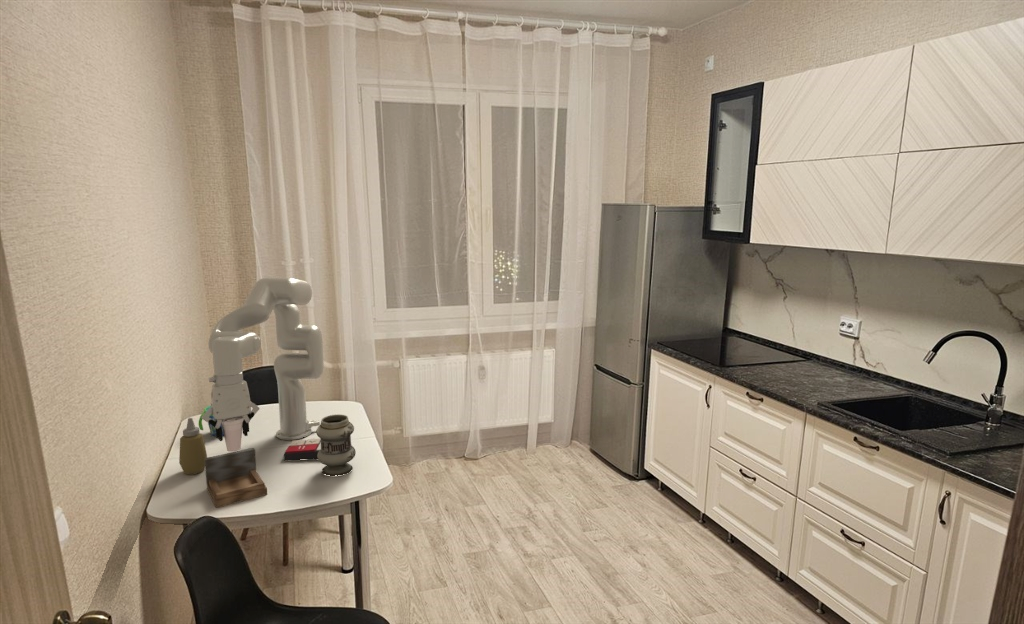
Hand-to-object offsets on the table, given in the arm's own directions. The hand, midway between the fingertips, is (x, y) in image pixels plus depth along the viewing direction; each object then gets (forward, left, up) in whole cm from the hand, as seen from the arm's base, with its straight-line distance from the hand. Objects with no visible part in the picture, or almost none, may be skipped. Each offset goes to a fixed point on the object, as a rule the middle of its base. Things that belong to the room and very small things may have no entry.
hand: (232, 436), depth 173 cm
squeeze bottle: (+8, -23, -18) cm, 30 cm away
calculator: (-27, -15, -18) cm, 36 cm away
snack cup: (-6, -54, -18) cm, 57 cm away
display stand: (0, 0, -18) cm, 18 cm away
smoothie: (0, 0, -4) cm, 4 cm away
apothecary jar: (-30, +3, -18) cm, 35 cm away
